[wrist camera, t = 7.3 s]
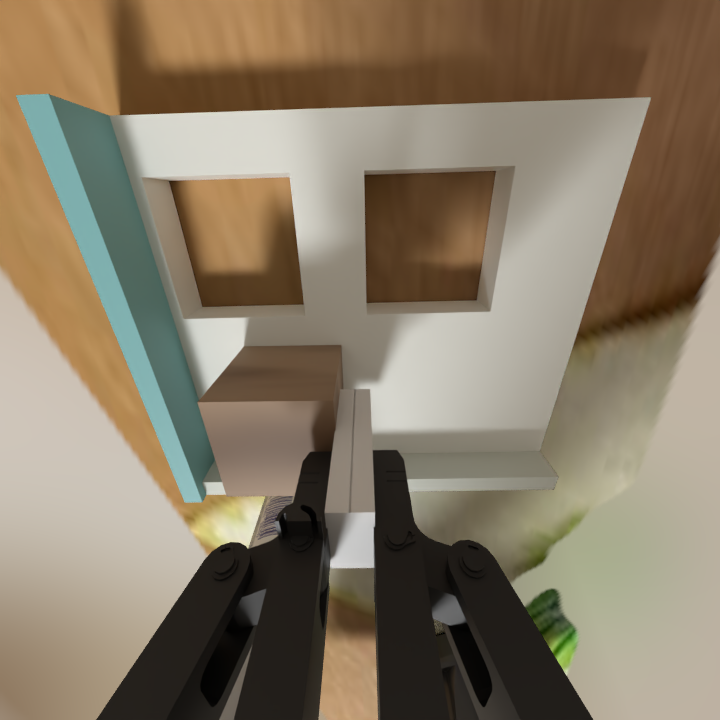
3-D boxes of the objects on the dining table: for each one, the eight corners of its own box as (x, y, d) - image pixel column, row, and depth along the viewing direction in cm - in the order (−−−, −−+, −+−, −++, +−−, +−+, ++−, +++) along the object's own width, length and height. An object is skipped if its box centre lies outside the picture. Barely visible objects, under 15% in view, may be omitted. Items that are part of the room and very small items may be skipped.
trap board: (521, 441, 21) (559, 497, 17) (217, 446, 21) (184, 502, 17) (610, 112, 13) (723, 70, 9) (120, 128, 13) (16, 95, 9)
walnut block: (345, 423, 18) (339, 495, 13) (260, 424, 18) (226, 496, 14) (341, 344, 16) (333, 400, 11) (243, 346, 16) (197, 402, 11)
